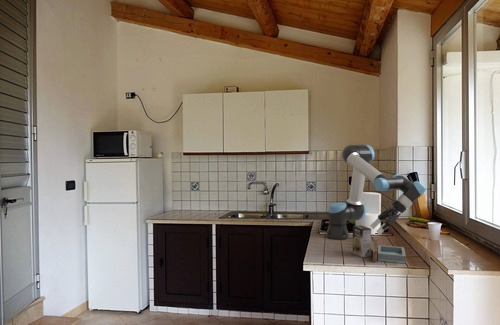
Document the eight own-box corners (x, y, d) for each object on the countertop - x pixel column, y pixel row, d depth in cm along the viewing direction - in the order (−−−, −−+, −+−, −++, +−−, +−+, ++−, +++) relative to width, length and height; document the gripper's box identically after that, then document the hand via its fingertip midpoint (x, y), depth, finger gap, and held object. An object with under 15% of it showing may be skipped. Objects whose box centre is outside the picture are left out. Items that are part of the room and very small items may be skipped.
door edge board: (372, 262, 190) (372, 251, 190) (373, 249, 212) (374, 240, 212) (376, 262, 189) (376, 251, 189) (377, 250, 211) (377, 240, 211)
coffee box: (352, 253, 206) (352, 225, 206) (361, 251, 209) (361, 225, 208) (362, 257, 198) (362, 229, 197) (371, 256, 200) (371, 228, 199)
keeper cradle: (377, 260, 192) (377, 253, 192) (378, 251, 208) (378, 245, 208) (405, 263, 187) (405, 256, 187) (403, 254, 203) (404, 247, 203)
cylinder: (362, 227, 270) (363, 191, 268) (384, 231, 257) (385, 193, 256) (351, 231, 258) (351, 193, 256) (373, 235, 245) (374, 196, 244)
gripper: (414, 212, 186) (385, 240, 188) (399, 205, 211) (373, 229, 213) (404, 202, 187) (375, 230, 189) (390, 196, 211) (364, 220, 214)
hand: (374, 230), depth 201 cm, fingers open, 13 cm apart
